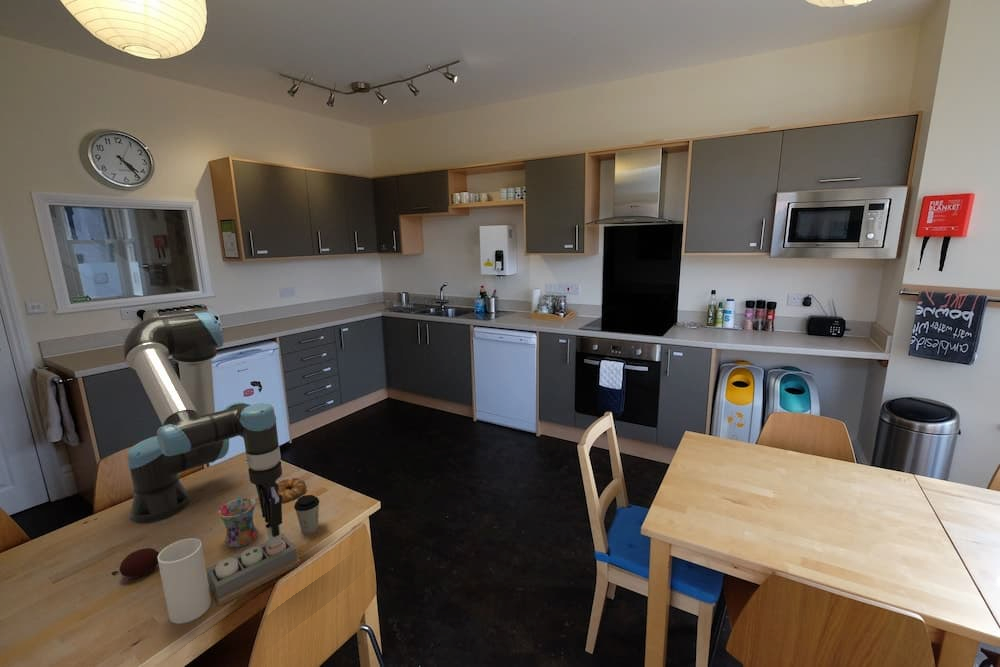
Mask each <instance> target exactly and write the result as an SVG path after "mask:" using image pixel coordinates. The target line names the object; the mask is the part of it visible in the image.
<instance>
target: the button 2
mask: <svg viewBox="0 0 1000 667" xmlns="http://www.w3.org/2000/svg"><path fill="white" fill-rule="evenodd" d="M242 552H243V553H242ZM242 552H241V553H242V554H241V560H242V566H243V568H244V569H245V568H247V567H249V566H251V565H254V564H256V563H258V562H260V561H262V560H263V553H262V548H261V547H255V546H252V547H249V548H247V549H245V550H243V551H242Z"/></svg>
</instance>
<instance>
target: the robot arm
mask: <svg viewBox="0 0 1000 667" xmlns="http://www.w3.org/2000/svg"><path fill="white" fill-rule="evenodd" d="M224 343H225V342H224V336H223V331H222V328H221V326H220V324H219V321H218V320H217V319H216V317H215V316H214V315H213V314H212V313H210V312H206V311H205V312H204V311H203V312H192V313H185V314H184V313H183V314H178V315H175V314H174V315H168V316H160V317H159V316H156V317H152V318H151V317H150V318H148V319H145V320H143V321H141V322H139V323H137V325H135V326H134V327H133V328H132V329H131V330H130V331H129V333H128V334H127V336H126V338H125V339H124V343H123V347H122V353H123V357H124V360H125V362H126V364H127V366H129V368H131V369H133V370H134V371H135V372H136V374H137V375H138V378H139V380H140V382H141V384H142V386H143V388H144V390H145V392H146V394H147V396H148V398H149V401H150V402H151V404H152V406H153V409H154V410H155V413H156V414H157V416H158V419H159V422H160V423H161V424H162V426H161V427H159V428H158V429H157V430H156V435H155V436H151V437H148V438H146V439H144V440H141V441H139V442H138V443H136V444H135V445H133V446H132V447H131V448H130V449H129V450H128V451H127V468H128V469H129V474H130V478H131V484H132V488H133V499H132V502H131V503H132V504H131V508H130V516H131V517H130V518H131V520H132V521H133V522H135V523H141V524H144V523H145V524H146V523H153V522H158V521H161V520H165V519H167V518H169V517H172V516H174V515H176V514H178V513H180V512H181V511H182V510H184V509H185V508H187V507H188V505H189V503H190V500H191V499H190V496H189V493H188V491H187V490H186V488H185V487H184V485H183V484H182V482H181V481H180V478H179V477H180V476H179V474H180V473H183V472H186V471H189V470H191V469H195V468H199V467H200V466H203V465H207V464H209V463H210V464H211V463H214V462H215V461H217V460H220V459H221V460H222V459H223V458H225V456H226V455H227V454H228V452H229V449H230V439H232V438H237V437H239V436H240V438H241V437H242V438H243V441H244V449H245V455H246V457H244V458H243V459H244V461H245V462H247V467H248V477H249V481H250V483H251V484H253V485H255V488H256V491H257V496H258V501H259V505H260V510H261V516H262V518H263V519H264V522H265V529H266V532H267V539H268V540H269V546H270V547H271V548H273V547H275V546H277V545H279V544H281V543H282V540H281V527H280V525H282V524H283V511H282V510H283V509H282V508H283V507H282V506H283V505H282V504H283V503H282V495H278V490H279V488H278V482H277V481H278V479H280V478H281V476H282V475H283V467H282V462H281V459H282V458H281V456H282V455H281V450H280V444H279V438H278V429H277V416H276V414H275V409H274V406H273V405H272V404H269V403H256V404H255V403H253V404H249V403H246V402H243V401H237V402H233V403H230V404H229V405H228V406H226V407H225V408H224V409H223V410H219V411H216V408H215V393H214V392H215V391H214V379H213V377H214V376H213V363H212V360H213V359H214V358H215V357H217V352H218V351H217V349H220V348H222V347H223V346H224ZM169 357H171V358H172V360H173V361H175V362H176V363H178V368H179V376H178V374H177V373H176V371H175V368H174V367H173V365H172V363H171V361H170V360H169ZM276 482H277V483H276ZM268 540H267V541H268Z"/></svg>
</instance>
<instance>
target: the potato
mask: <svg viewBox="0 0 1000 667" xmlns="http://www.w3.org/2000/svg"><path fill="white" fill-rule="evenodd" d="M159 553H160V552H159V551H158V550H156V549H155V548H152V547H151V548H150V547H147V548H146V547H145V548H140V549H137V550H134V551H132V552H131V553H128V555H126V556H125V557H124V558H123V559H122V561H121V563H120V565H119V573H120V574H121V576H123V577H125V578H129V579H131V578H138V577H140V576H144V575H146V574H148V573H149V572H151V571H152V570H154V569H155V568H156V567H157V566H159V563H158V555H159Z"/></svg>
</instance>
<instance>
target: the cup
mask: <svg viewBox="0 0 1000 667" xmlns="http://www.w3.org/2000/svg"><path fill="white" fill-rule="evenodd" d="M205 562H206V561H205V556H204V551H203V545H202V541H201V540H200V539H198V538H195V537H191V538H184V539H180V540H177V541H175V542H173V543H170V544H168V545H167V546H166V547H164V548H163V549H162V550H161V551H160V552H159V555H158V567H159V572H160V580H161V582H162V584H161V585H162V588H163V594H164V597H165V598H164V599H165V604H166V608H167V614H168V618H169V621H170V622H171V623H173V624H176V625H179V624H180V625H182V624H186V623H189V622H192V621H194V620H196V619H198V618H199V617H201V616H202V615H204V614H205V613H206V612H207V611H208V610H209V608H210V607H211V605H212V597H211V595H212V594H211V588H210V586H209V584H208V578H207V569H206V568H207V566H206V563H205Z"/></svg>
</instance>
